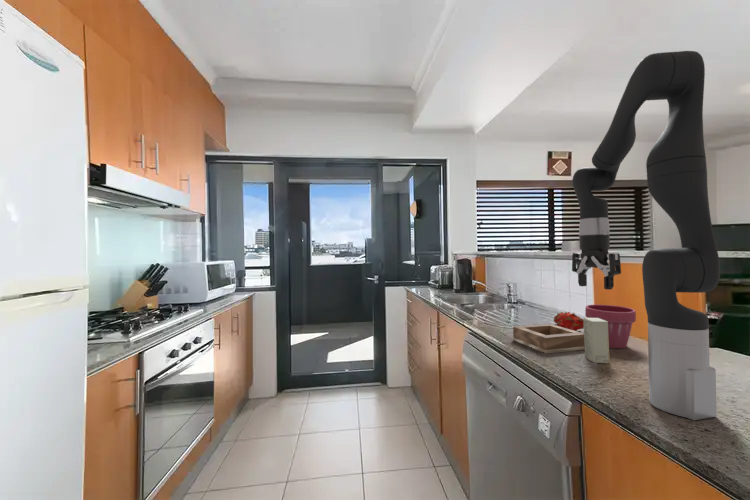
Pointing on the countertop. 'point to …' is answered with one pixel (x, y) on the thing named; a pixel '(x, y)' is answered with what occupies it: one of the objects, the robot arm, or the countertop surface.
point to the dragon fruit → (569, 321)
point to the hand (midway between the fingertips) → (595, 287)
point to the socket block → (549, 338)
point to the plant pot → (614, 322)
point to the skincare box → (596, 340)
